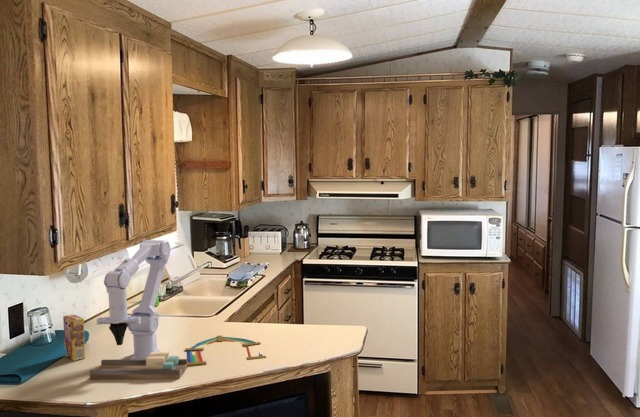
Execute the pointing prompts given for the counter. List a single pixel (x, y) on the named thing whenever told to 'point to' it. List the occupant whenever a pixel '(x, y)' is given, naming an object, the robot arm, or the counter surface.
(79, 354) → the candy box
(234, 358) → the counter surface
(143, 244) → the robot arm
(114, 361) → the guide track
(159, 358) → the beige box
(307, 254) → the counter surface
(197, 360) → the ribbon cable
